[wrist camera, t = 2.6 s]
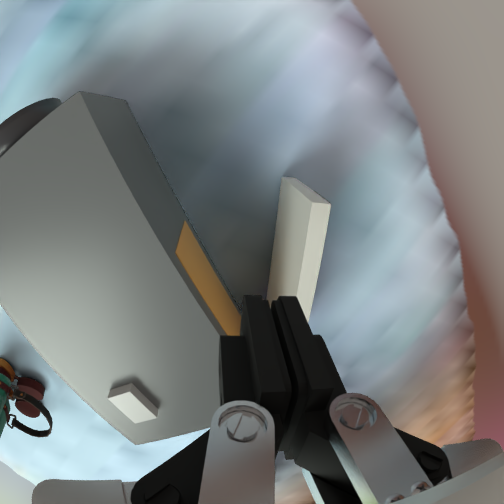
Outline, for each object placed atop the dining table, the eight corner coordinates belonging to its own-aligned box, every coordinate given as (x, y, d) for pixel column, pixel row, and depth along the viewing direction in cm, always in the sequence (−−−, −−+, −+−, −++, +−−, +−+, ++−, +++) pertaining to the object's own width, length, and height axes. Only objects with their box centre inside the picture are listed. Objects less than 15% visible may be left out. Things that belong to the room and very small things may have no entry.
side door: (280, 343, 27) (297, 405, 21) (260, 343, 27) (273, 406, 20) (306, 178, 22) (345, 205, 15) (281, 176, 22) (311, 202, 15)
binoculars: (41, 482, 22) (-32, 446, 18) (54, 416, 31) (-10, 385, 27) (46, 459, 19) (-42, 414, 16) (64, 382, 29) (-9, 345, 25)
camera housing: (257, 338, 27) (273, 415, 19) (147, 380, 28) (134, 452, 20) (113, 73, 18) (56, 51, 10) (0, 163, 18) (-72, 189, 10)
